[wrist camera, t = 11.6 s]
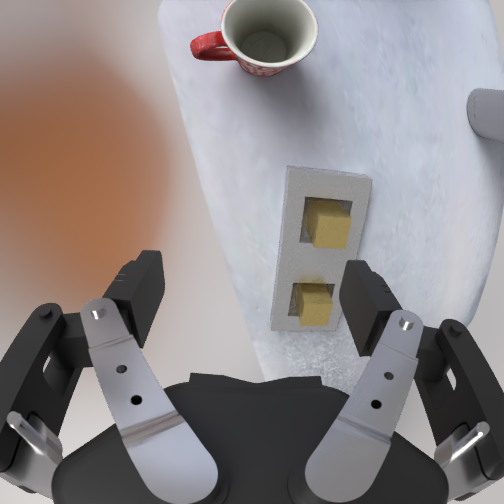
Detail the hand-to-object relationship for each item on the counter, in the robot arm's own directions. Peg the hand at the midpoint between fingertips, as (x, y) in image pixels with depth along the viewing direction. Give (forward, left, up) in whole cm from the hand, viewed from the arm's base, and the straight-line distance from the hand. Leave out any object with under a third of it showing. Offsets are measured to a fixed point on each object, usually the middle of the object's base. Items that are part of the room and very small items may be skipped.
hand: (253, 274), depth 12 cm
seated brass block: (-11, +8, -30) cm, 33 cm away
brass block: (-11, +22, -30) cm, 39 cm away
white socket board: (-11, +15, -30) cm, 35 cm away
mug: (+1, -15, -30) cm, 34 cm away
